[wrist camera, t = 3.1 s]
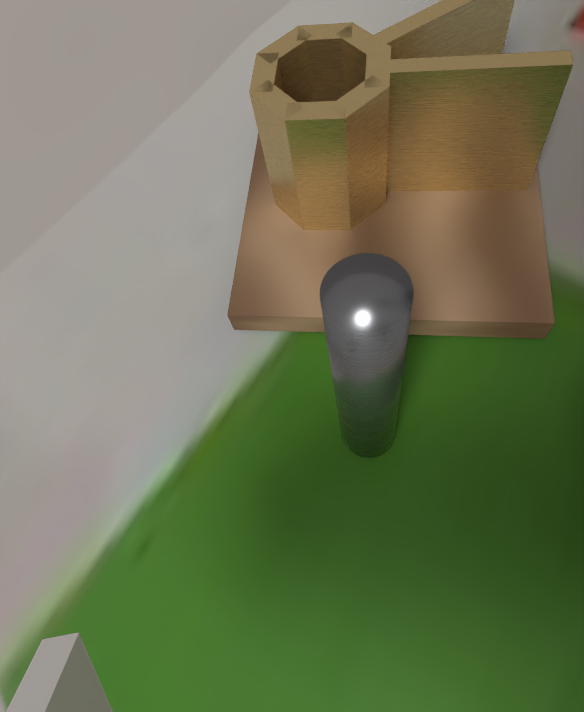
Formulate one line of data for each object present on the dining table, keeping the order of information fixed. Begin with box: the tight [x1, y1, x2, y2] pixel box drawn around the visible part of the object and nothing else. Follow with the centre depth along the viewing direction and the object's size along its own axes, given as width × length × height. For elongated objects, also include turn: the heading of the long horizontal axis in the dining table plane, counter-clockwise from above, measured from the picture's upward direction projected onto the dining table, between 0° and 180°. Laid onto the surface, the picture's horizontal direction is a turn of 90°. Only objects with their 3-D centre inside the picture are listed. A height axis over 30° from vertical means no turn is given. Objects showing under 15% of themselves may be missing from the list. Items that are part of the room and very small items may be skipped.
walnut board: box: [228, 133, 555, 339], centre depth 29 cm, size 15×16×2 cm
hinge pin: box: [320, 253, 414, 458], centre depth 19 cm, size 2×2×12 cm
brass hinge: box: [249, 0, 573, 230], centre depth 26 cm, size 13×9×7 cm
